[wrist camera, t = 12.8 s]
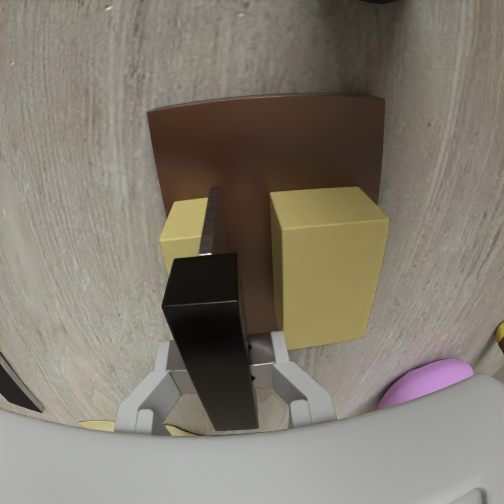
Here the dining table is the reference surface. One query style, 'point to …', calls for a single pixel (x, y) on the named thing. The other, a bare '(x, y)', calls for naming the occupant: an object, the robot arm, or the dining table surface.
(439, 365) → the teapot
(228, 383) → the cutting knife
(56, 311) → the dining table surface
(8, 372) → the smartphone
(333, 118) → the butter board
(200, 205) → the butter slice
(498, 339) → the knife
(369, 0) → the black thermos flask
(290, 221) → the butter block
